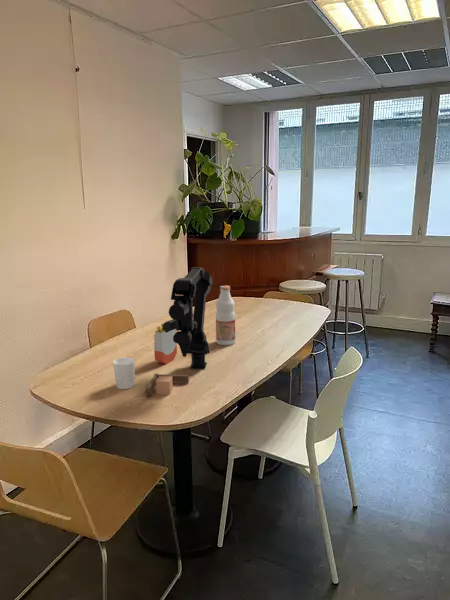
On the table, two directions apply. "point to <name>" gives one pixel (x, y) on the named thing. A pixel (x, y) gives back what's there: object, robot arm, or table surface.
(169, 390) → the light brown cube
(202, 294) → the robot arm
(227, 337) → the fruit juice
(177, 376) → the walnut fence
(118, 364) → the white cup
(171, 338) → the french fries container
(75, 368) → the table surface
